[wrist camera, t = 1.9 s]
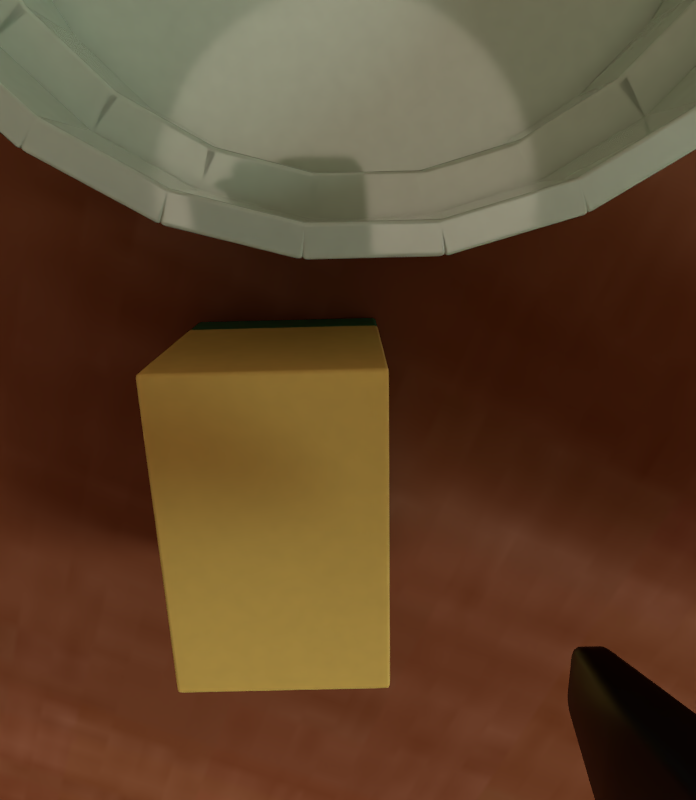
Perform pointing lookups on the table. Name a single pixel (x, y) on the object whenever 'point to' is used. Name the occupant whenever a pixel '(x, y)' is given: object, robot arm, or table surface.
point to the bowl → (352, 113)
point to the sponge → (272, 503)
